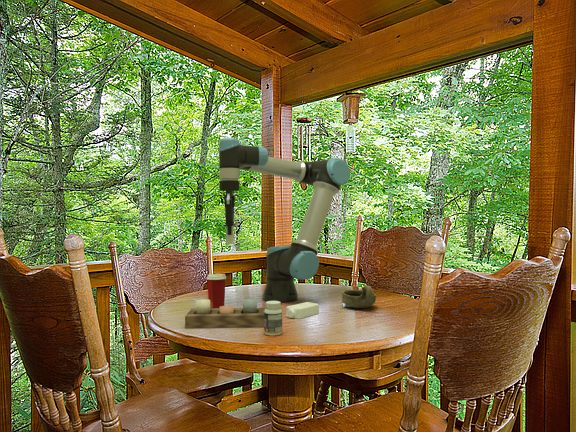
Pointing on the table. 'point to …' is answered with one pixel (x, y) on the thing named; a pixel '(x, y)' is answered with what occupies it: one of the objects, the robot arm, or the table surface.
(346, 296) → the bowl
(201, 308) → the button cream
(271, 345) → the table surface
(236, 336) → the table surface
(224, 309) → the button terracotta
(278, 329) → the pill bottle
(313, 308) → the cream rectangular block
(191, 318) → the console
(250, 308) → the button slate
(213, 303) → the paper cup
